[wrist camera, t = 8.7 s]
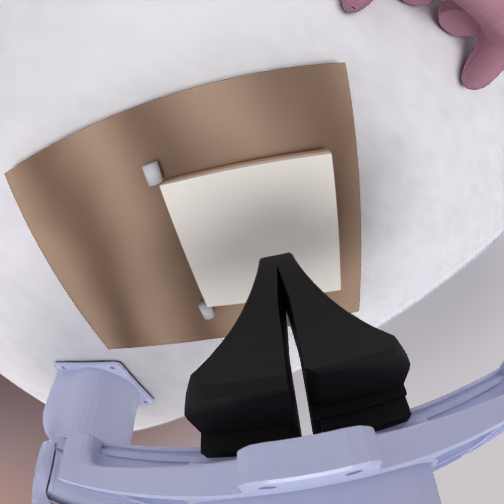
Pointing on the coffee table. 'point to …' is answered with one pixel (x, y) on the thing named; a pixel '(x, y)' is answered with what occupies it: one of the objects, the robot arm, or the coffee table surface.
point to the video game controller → (467, 34)
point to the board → (153, 204)
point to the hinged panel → (254, 221)
